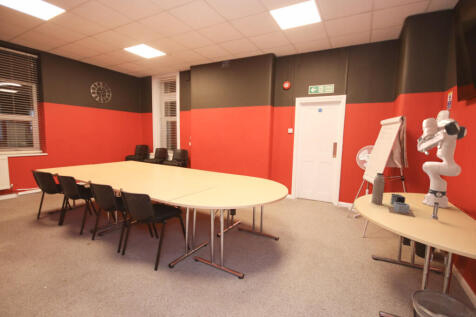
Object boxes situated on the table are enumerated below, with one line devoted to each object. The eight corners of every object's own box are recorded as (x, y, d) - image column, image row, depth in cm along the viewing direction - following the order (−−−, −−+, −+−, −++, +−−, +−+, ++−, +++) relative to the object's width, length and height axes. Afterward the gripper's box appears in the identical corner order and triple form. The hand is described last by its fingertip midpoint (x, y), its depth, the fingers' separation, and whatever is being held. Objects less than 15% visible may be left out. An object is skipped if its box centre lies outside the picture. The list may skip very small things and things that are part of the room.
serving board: (387, 207, 188) (387, 206, 188) (411, 211, 180) (411, 210, 180) (389, 214, 171) (389, 212, 171) (415, 219, 163) (415, 217, 163)
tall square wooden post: (430, 219, 164) (433, 202, 162) (430, 218, 167) (433, 201, 165) (437, 221, 161) (440, 203, 160) (437, 219, 164) (440, 202, 163)
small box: (404, 209, 185) (406, 197, 184) (395, 208, 186) (397, 196, 185) (398, 205, 195) (399, 194, 194) (389, 205, 197) (391, 193, 195)
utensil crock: (392, 208, 182) (393, 201, 182) (407, 210, 177) (408, 203, 177) (393, 211, 174) (394, 204, 173) (409, 214, 169) (410, 206, 168)
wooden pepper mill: (370, 202, 201) (373, 172, 198) (380, 204, 198) (384, 173, 195) (372, 205, 193) (376, 173, 190) (383, 206, 191) (386, 174, 188)
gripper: (449, 130, 156) (452, 145, 149) (422, 144, 174) (424, 158, 168) (441, 126, 156) (444, 142, 149) (415, 141, 174) (416, 156, 167)
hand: (433, 151), depth 159 cm, fingers open, 8 cm apart
